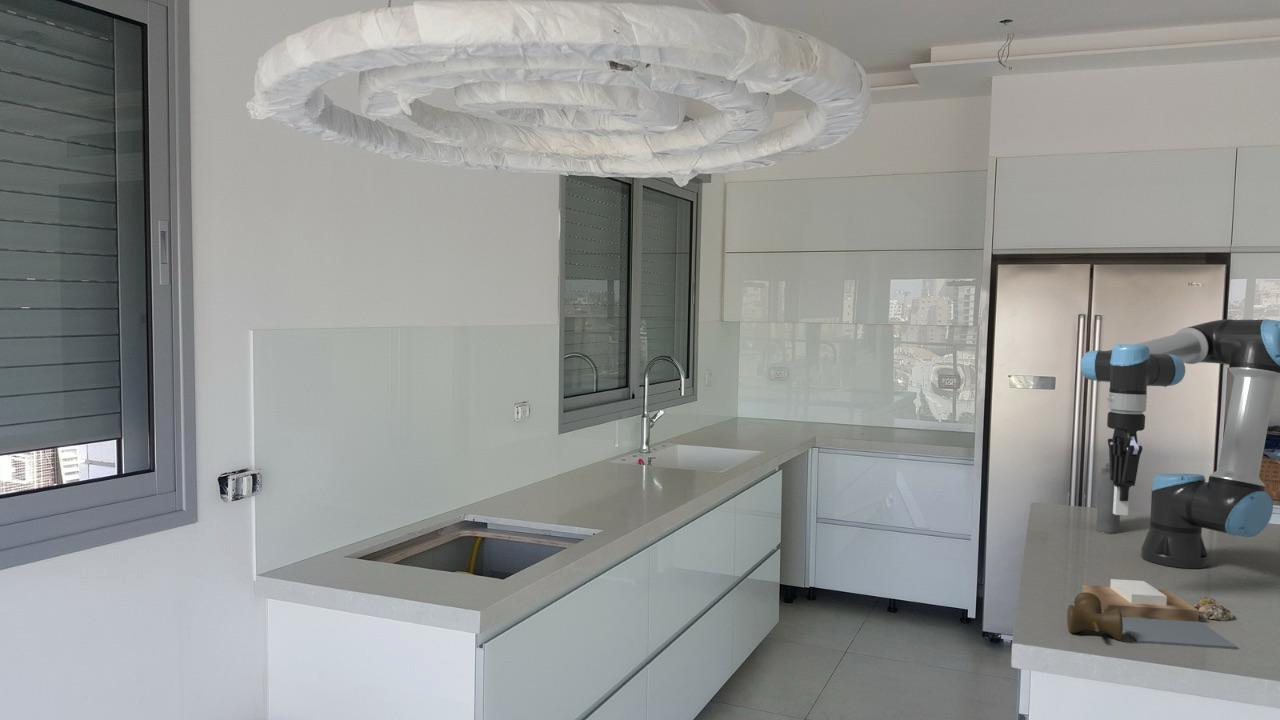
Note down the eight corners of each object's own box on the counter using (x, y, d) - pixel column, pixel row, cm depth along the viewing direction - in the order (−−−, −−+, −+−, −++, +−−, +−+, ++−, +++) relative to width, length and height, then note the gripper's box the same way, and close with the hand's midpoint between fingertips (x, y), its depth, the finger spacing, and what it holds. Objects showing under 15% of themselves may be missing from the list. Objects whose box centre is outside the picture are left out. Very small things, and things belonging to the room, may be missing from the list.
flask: (1118, 535, 259) (1121, 468, 258) (1096, 532, 262) (1099, 465, 261) (1119, 525, 272) (1123, 461, 271) (1098, 523, 275) (1102, 459, 274)
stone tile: (1143, 589, 197) (1143, 581, 197) (1166, 605, 186) (1166, 596, 186) (1110, 587, 198) (1110, 579, 198) (1131, 603, 187) (1131, 594, 187)
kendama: (1112, 620, 185) (1126, 650, 167) (1062, 614, 189) (1069, 643, 170) (1112, 591, 185) (1126, 618, 167) (1062, 586, 189) (1070, 612, 170)
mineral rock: (1240, 615, 182) (1197, 598, 186) (1232, 634, 183) (1189, 617, 186) (1232, 602, 192) (1191, 586, 195) (1224, 620, 193) (1184, 604, 196)
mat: (1200, 623, 182) (1200, 622, 182) (1237, 649, 169) (1237, 646, 168) (1109, 618, 185) (1109, 616, 185) (1138, 642, 171) (1138, 640, 171)
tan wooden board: (1166, 600, 197) (1167, 590, 197) (1198, 622, 183) (1198, 610, 183) (1082, 595, 200) (1082, 584, 199) (1107, 616, 186) (1107, 604, 186)
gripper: (1097, 408, 207) (1092, 507, 208) (1121, 414, 194) (1114, 519, 195) (1131, 409, 206) (1125, 509, 207) (1157, 415, 193) (1150, 521, 194)
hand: (1120, 514), depth 201 cm, fingers closed
